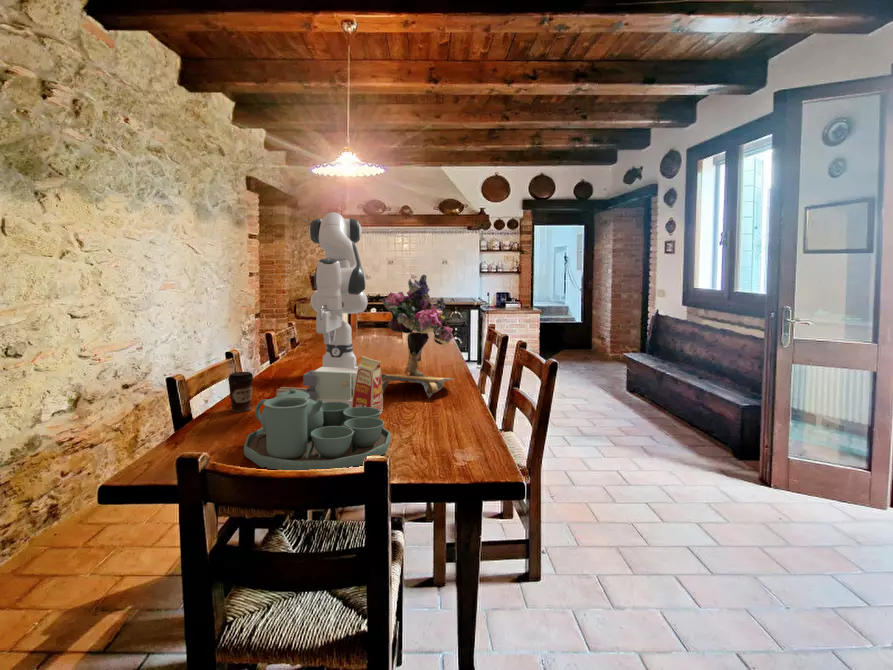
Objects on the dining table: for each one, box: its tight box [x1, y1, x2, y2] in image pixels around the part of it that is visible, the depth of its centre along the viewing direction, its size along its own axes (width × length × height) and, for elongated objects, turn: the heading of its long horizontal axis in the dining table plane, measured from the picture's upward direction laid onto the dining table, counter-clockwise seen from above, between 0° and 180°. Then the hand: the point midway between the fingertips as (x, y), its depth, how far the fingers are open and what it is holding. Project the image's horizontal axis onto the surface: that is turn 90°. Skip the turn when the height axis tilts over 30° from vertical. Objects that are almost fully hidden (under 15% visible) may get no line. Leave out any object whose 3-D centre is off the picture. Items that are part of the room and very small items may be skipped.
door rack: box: [276, 386, 307, 395], centre depth 214 cm, size 5×10×3 cm, turn 85°
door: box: [308, 369, 351, 400], centre depth 203 cm, size 3×15×10 cm, turn 85°
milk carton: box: [351, 355, 384, 415], centre depth 192 cm, size 9×9×20 cm
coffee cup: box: [227, 371, 254, 413], centre depth 193 cm, size 9×8×13 cm
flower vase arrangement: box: [381, 274, 454, 399], centre depth 227 cm, size 33×44×45 cm
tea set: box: [243, 389, 392, 470], centre depth 157 cm, size 40×40×16 cm
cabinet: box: [302, 366, 358, 405], centre depth 209 cm, size 16×18×11 cm
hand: (329, 342), depth 201 cm, fingers open, 4 cm apart
